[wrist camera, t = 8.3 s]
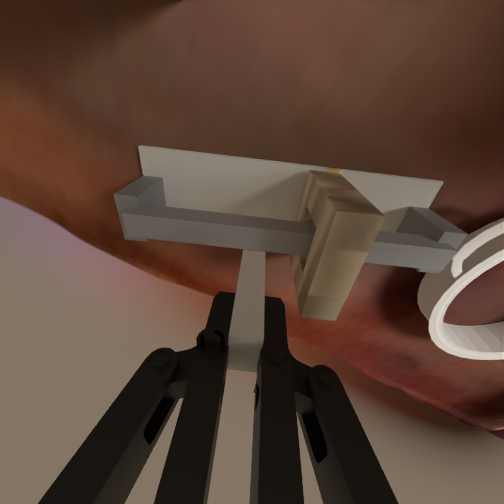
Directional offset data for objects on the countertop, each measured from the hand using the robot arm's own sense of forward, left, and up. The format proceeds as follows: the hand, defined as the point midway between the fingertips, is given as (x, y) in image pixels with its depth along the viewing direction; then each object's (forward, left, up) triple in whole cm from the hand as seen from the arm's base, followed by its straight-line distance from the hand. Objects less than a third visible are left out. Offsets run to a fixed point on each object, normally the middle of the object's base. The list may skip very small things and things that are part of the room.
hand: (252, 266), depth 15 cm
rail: (-3, 0, -11) cm, 11 cm away
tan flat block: (-6, 0, -10) cm, 12 cm away
